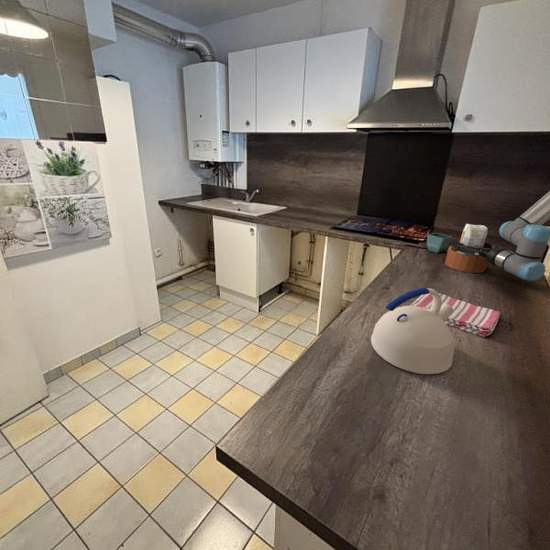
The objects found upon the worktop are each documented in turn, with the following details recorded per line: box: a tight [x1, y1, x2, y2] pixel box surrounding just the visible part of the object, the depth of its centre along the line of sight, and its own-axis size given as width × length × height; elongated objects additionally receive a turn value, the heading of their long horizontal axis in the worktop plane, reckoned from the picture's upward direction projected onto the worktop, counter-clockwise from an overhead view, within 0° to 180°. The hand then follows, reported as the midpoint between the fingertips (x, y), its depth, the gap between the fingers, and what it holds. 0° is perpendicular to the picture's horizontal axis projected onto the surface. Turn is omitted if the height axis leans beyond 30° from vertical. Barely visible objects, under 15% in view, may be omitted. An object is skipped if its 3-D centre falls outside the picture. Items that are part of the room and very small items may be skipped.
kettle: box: [370, 287, 456, 375], centre depth 75 cm, size 20×21×18 cm
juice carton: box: [457, 223, 489, 257], centre depth 134 cm, size 8×9×19 cm
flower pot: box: [426, 232, 452, 254], centre depth 156 cm, size 9×9×9 cm
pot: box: [444, 246, 489, 274], centre depth 137 cm, size 17×17×8 cm
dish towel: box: [409, 292, 502, 338], centre depth 95 cm, size 17×23×4 cm
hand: (465, 242), depth 137 cm, fingers open, 13 cm apart
